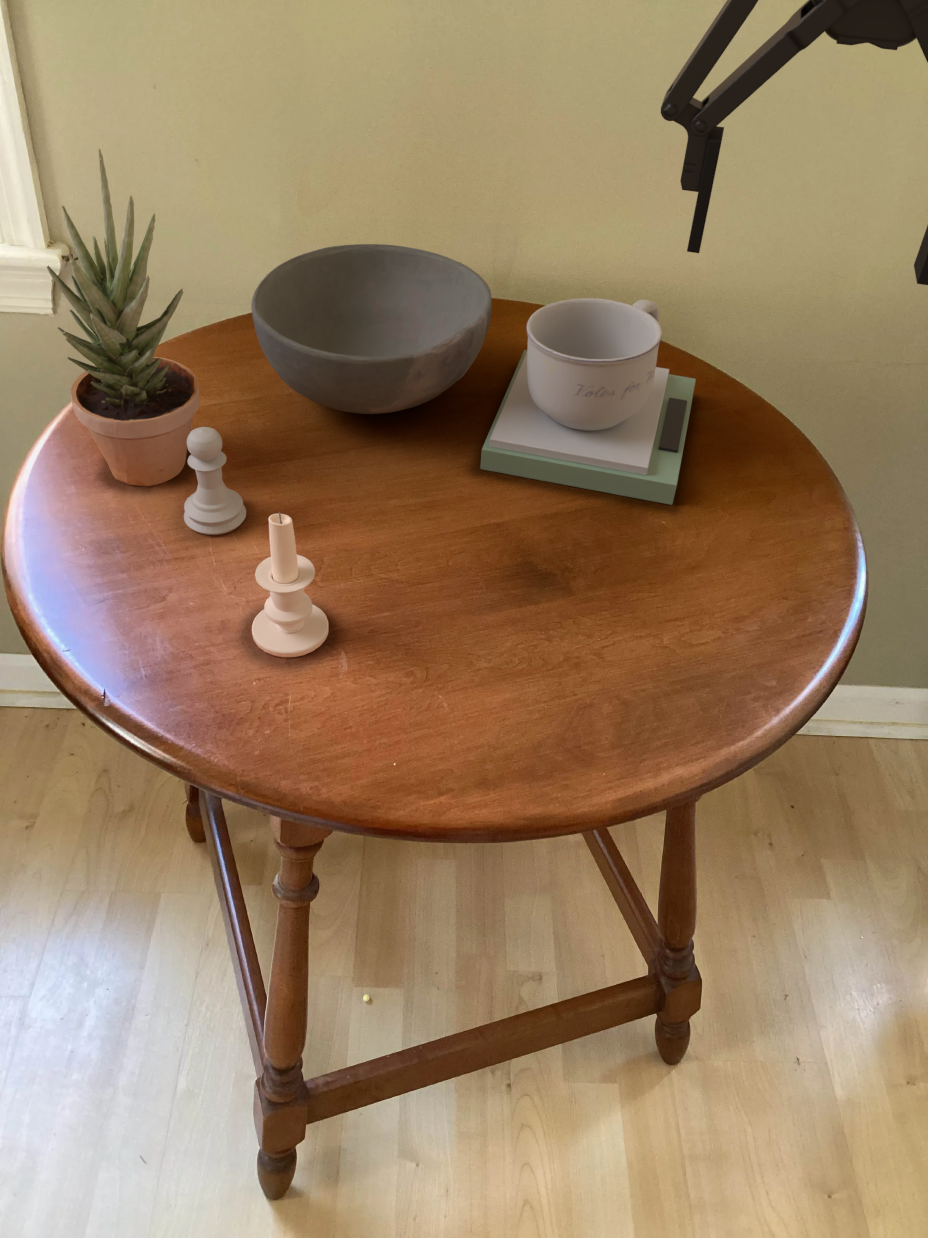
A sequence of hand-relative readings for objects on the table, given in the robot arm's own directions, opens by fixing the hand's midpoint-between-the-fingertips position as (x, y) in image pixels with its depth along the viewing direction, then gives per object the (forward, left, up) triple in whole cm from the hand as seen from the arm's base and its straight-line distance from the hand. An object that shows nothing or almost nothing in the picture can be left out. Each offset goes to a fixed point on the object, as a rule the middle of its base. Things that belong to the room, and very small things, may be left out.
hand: (806, 259), depth 64 cm
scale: (+12, -14, -24) cm, 30 cm away
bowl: (+32, -14, -24) cm, 43 cm away
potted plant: (+46, +2, -24) cm, 52 cm away
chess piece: (+38, +7, -24) cm, 46 cm away
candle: (+28, +17, -24) cm, 41 cm away
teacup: (+12, -14, -21) cm, 28 cm away
